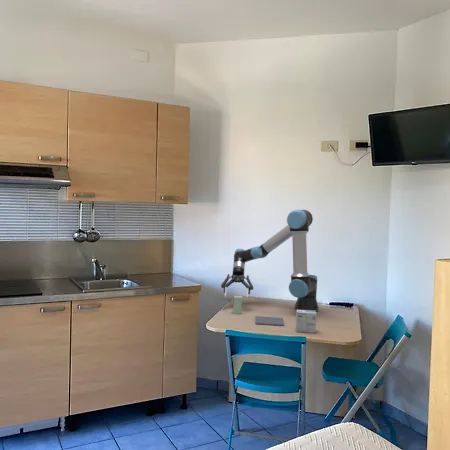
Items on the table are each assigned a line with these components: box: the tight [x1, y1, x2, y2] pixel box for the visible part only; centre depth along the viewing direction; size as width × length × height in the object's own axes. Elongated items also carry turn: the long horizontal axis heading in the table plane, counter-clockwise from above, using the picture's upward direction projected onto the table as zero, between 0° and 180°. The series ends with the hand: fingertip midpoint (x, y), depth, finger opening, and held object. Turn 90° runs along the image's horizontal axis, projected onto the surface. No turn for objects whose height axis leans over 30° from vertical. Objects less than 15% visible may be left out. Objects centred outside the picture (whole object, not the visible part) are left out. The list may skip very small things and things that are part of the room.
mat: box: [254, 315, 285, 327], centre depth 267 cm, size 16×16×1 cm
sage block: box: [232, 295, 243, 315], centre depth 285 cm, size 5×5×10 cm
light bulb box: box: [295, 310, 318, 334], centre depth 250 cm, size 11×7×11 cm, turn 84°
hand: (236, 297), depth 289 cm, fingers open, 13 cm apart
